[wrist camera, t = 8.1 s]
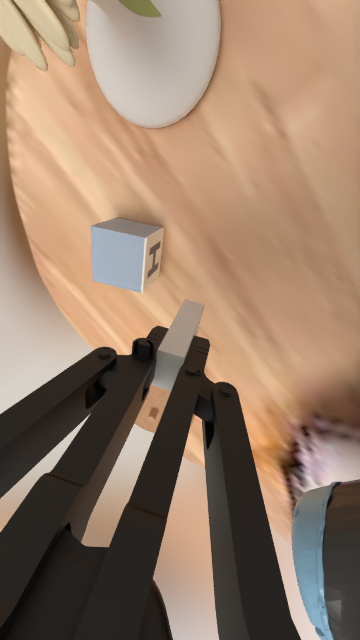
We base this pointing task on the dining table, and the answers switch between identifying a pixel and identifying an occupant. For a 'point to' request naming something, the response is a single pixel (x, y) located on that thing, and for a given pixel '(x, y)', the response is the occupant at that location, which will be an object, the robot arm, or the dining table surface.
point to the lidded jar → (153, 408)
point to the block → (126, 253)
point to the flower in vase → (127, 49)
